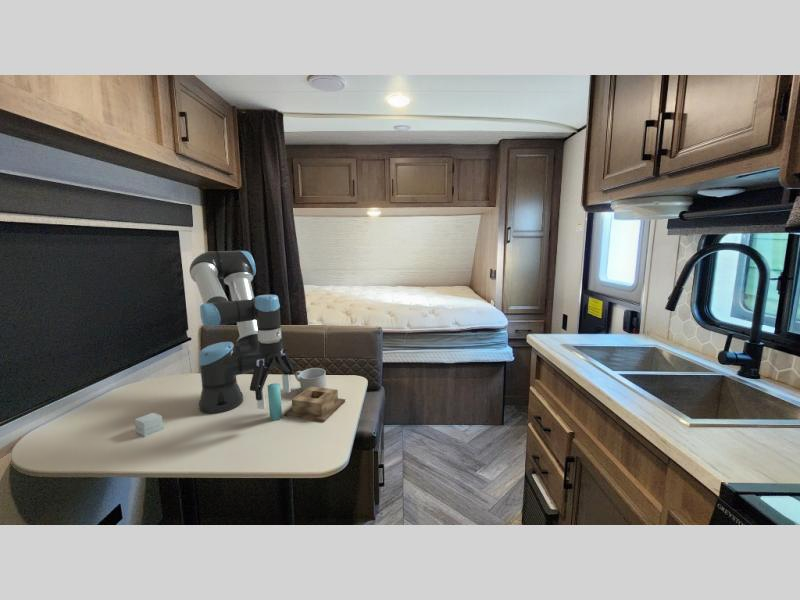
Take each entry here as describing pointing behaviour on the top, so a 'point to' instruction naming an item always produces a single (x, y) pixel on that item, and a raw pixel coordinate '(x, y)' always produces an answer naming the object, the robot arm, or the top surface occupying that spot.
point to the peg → (274, 401)
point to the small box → (148, 424)
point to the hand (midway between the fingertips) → (275, 399)
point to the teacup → (311, 378)
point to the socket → (315, 404)
